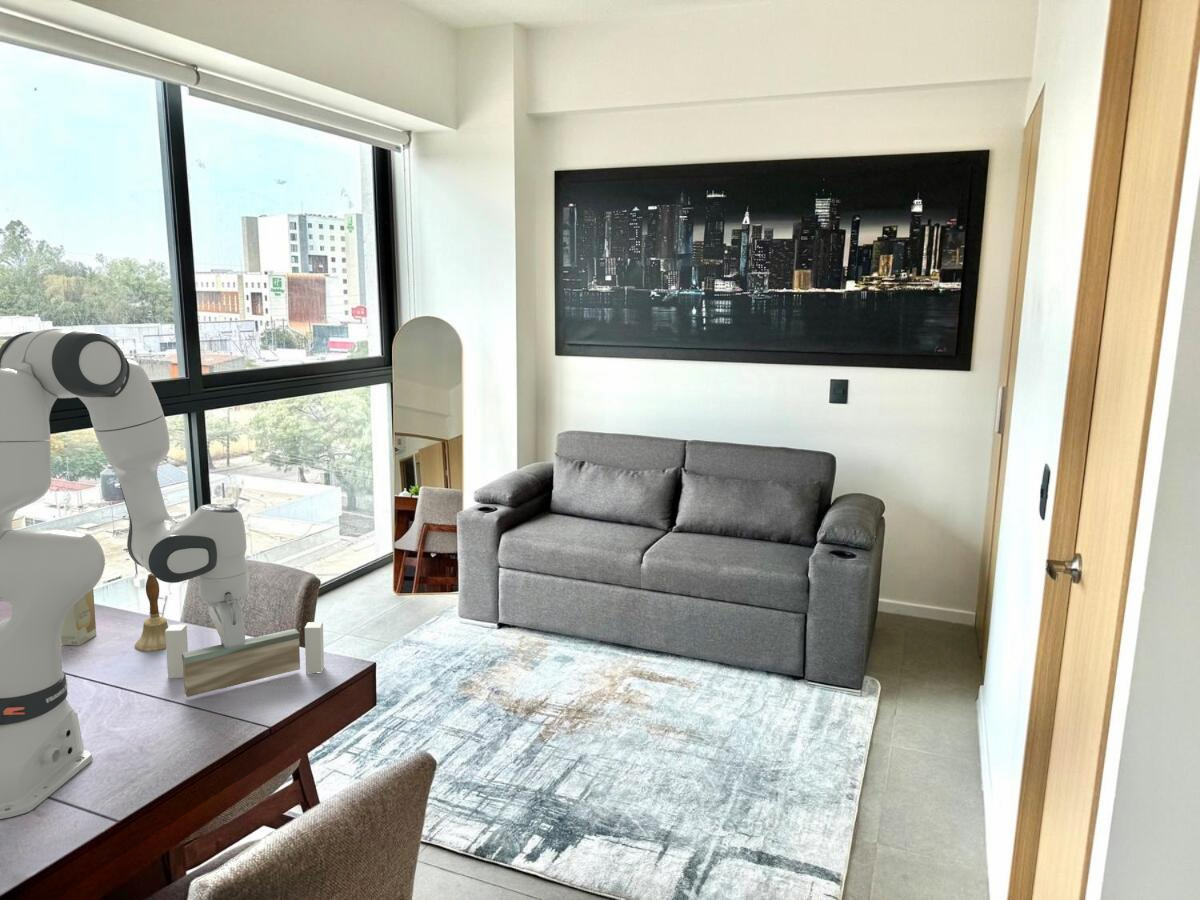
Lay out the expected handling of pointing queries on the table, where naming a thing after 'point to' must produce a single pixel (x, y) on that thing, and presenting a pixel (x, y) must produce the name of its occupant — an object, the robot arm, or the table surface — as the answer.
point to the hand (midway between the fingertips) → (227, 652)
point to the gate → (240, 662)
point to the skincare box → (80, 621)
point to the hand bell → (153, 621)
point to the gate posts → (179, 645)
